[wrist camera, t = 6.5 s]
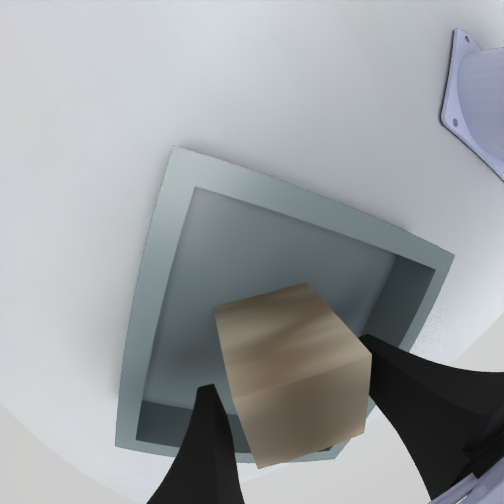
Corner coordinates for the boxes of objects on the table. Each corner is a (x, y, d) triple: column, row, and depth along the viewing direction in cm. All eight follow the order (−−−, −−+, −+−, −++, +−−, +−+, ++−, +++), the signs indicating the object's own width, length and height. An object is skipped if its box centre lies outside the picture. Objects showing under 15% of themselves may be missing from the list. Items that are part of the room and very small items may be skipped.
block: (306, 282, 14) (371, 354, 9) (313, 354, 16) (363, 432, 10) (213, 306, 14) (232, 399, 8) (233, 377, 15) (257, 468, 10)
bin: (409, 234, 16) (454, 254, 12) (314, 420, 19) (334, 459, 15) (178, 149, 12) (173, 145, 9) (122, 397, 15) (114, 446, 12)
